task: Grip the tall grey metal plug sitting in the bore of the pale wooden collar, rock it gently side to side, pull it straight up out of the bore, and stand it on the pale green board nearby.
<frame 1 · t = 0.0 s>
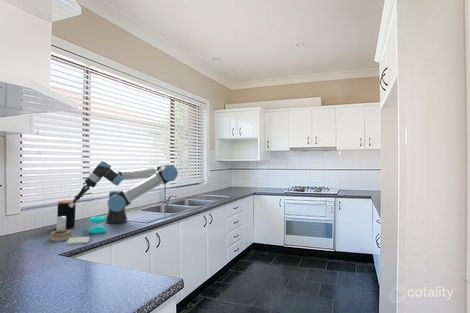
hand: (71, 205, 209), 15 cm above the counter, tool tilted 35°, fingers open, 13 cm apart
board: (78, 241, 176), on the counter
plug: (61, 227, 180), in the collar
donuts: (97, 232, 197), on the counter
collar: (60, 238, 180), on the counter
coffee jar: (65, 227, 208), on the counter
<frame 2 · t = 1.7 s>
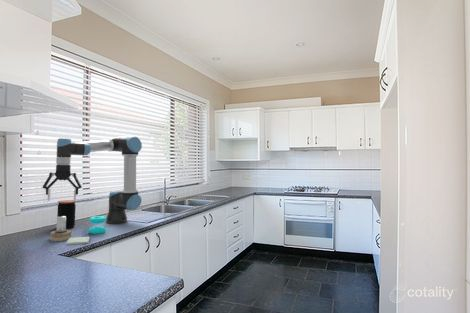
hand: (61, 200, 181), 23 cm above the counter, tool pointing down, fingers open, 13 cm apart
nothing on the counter moved.
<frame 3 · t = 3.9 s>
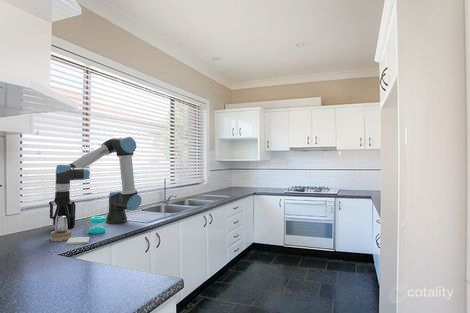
hand: (61, 229, 180), 5 cm above the counter, tool pointing down, fingers closed on plug, 5 cm apart
plug: (61, 227, 180), in the collar, touching gripper
everything else where it was.
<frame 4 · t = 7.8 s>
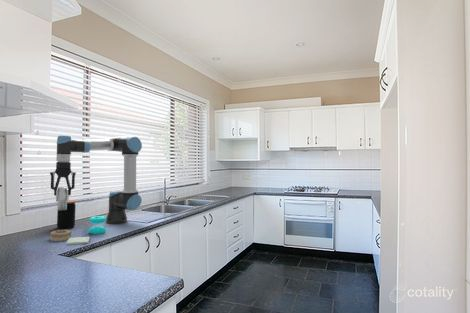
hand: (62, 200, 181), 22 cm above the counter, tool pointing down, fingers closed on plug, 5 cm apart
plug: (62, 198, 181), point 24 cm above the counter, touching gripper
everything else where it was.
when the fingers open (8 cm above the counter, at t = 12.0 s): plug drops 2 cm, resting on board.
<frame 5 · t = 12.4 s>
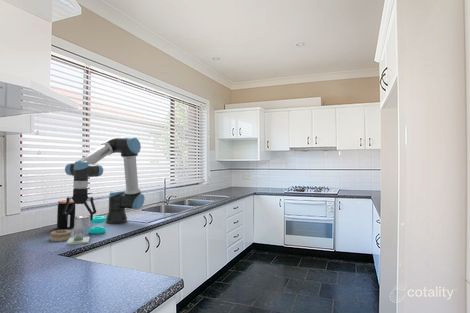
hand: (79, 226, 176), 9 cm above the counter, tool pointing down, fingers open, 10 cm apart
plug: (78, 228, 176), on the board, point 8 cm above the counter
everything else where it was.
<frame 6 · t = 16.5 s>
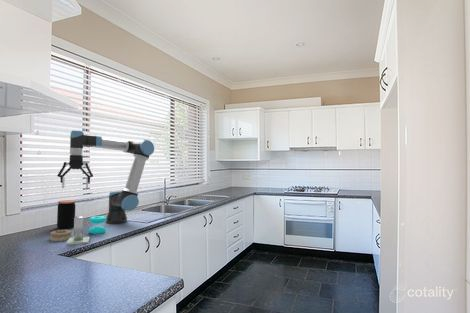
hand: (75, 188, 194), 29 cm above the counter, tool pointing down, fingers open, 13 cm apart
nothing on the counter moved.
at the end: plug inside the target area on the board (0.1 cm from its centre), point 7.5 cm above the board's base; plug tilted 1°; the gripper is holding nothing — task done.
